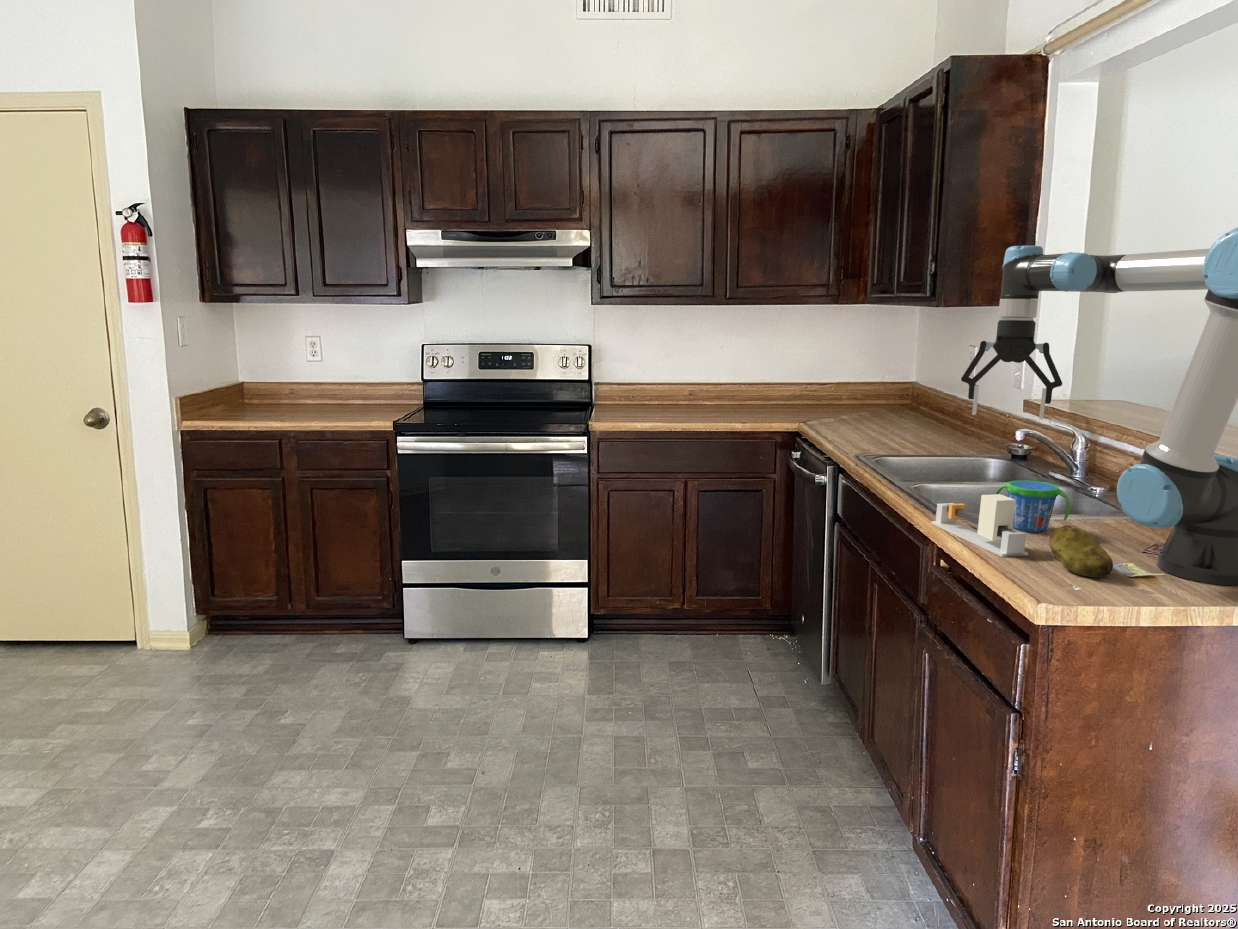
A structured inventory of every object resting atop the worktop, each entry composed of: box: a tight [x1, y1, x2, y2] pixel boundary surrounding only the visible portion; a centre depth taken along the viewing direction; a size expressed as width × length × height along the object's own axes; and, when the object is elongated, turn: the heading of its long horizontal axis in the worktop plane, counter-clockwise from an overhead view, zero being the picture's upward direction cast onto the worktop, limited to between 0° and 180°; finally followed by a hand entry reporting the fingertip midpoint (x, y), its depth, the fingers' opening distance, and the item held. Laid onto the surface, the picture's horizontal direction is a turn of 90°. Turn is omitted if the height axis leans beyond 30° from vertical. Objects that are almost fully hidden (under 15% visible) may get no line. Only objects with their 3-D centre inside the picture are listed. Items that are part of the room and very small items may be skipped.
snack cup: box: [994, 479, 1071, 533], centre depth 193 cm, size 16×10×10 cm
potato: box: [1048, 525, 1114, 579], centre depth 164 cm, size 8×13×8 cm, turn 178°
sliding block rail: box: [931, 502, 1029, 558], centre depth 184 cm, size 25×6×6 cm, turn 13°
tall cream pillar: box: [977, 493, 1016, 541], centre depth 178 cm, size 5×4×8 cm
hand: (1007, 416), depth 190 cm, fingers open, 13 cm apart
